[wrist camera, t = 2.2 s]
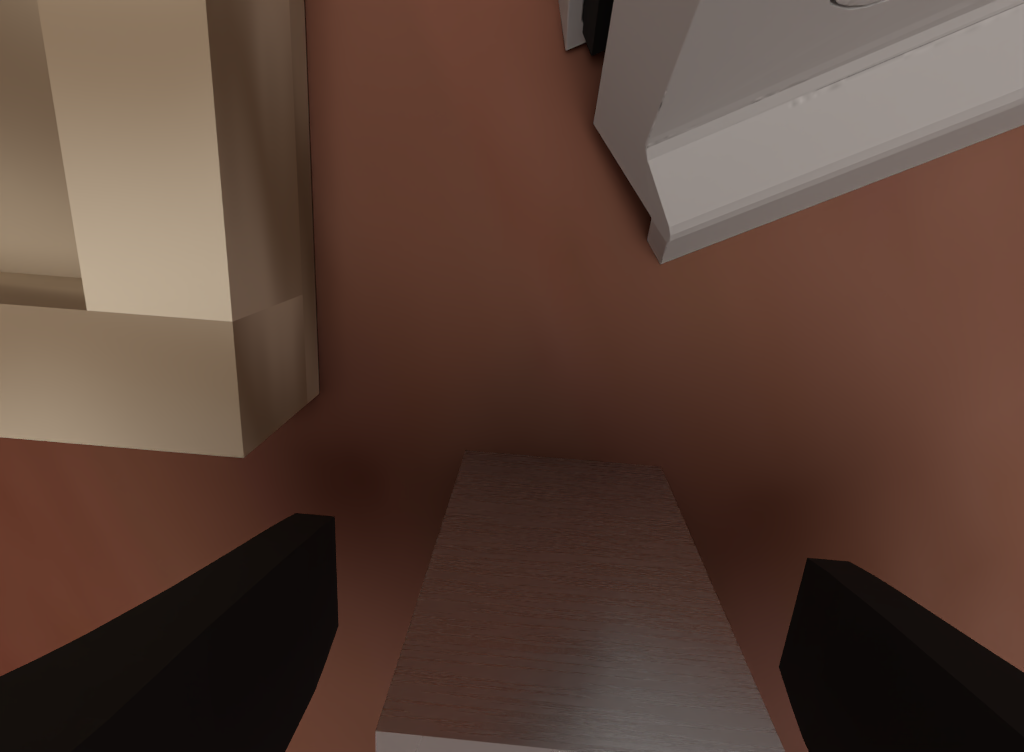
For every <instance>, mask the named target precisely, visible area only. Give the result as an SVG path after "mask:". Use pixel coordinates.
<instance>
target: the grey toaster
mask: <svg viewBox="0 0 1024 752" xmlns="http://www.w3.org/2000/svg"><path fill="white" fill-rule="evenodd" d="M559 8H560V15H561V22H562V30H563V37H564V44H565V50H569V49H571V48H573V47H576V46H578V45H580V44H583V43H585V42H586V43H587V46H588V48H589V51H590V53H591V56H593V55H595V54H597V53H599V52H602V51H604V50H606V51H605V57H604V63H603V69H602V75H601V81H600V87H599V93H598V99H597V105H596V111H595V117H594V123H593V124H594V126H595V127H596V129H597V130H598V132H599V134H600V135H601V137H602V139H603V140H604V142H605V143H606V145H607V147H608V148H609V150H610V151H611V153H612V155H613V156H614V158H615V159H616V161H617V163H618V164H619V166H620V168H621V169H622V171H623V172H624V174H625V176H626V177H627V179H628V180H629V182H630V184H631V185H632V187H633V188H634V190H635V192H636V193H637V195H638V197H639V198H640V200H641V201H642V203H643V205H644V206H645V208H646V209H647V211H648V213H649V214H650V216H651V224H650V228H649V233H648V238H647V241H648V243H649V245H650V247H651V249H652V250H653V252H654V254H655V256H656V258H657V259H658V261H659V263H660V264H663V263H665V262H668V261H671V260H673V259H676V258H678V257H681V256H684V255H686V254H689V253H691V252H694V251H697V250H699V249H702V248H704V247H707V246H710V245H712V244H715V243H717V242H720V241H723V240H725V239H728V238H730V237H733V236H736V235H738V234H741V233H743V232H746V231H749V230H751V229H754V228H756V227H759V226H762V225H764V224H767V223H769V222H772V221H775V220H777V219H780V218H782V217H785V216H788V215H790V214H793V213H795V212H798V211H801V210H803V209H806V208H808V207H811V206H814V205H816V204H819V203H821V202H824V201H827V200H829V199H832V198H834V197H837V196H840V195H842V194H845V193H847V192H850V191H853V190H855V189H858V188H861V187H863V186H866V185H868V184H871V183H874V182H876V181H879V180H881V179H884V178H887V177H889V176H892V175H894V174H897V173H900V172H902V171H905V170H907V169H910V168H913V167H915V166H918V165H920V164H923V163H926V162H928V161H931V160H933V159H936V158H939V157H941V156H944V155H946V154H949V153H952V152H954V151H957V150H959V149H962V148H965V147H967V146H970V145H972V144H975V143H978V142H980V141H983V140H985V139H988V138H991V137H993V136H996V135H998V134H1001V133H1004V132H1006V131H1009V130H1011V129H1014V128H1017V127H1019V126H1022V125H1024V0H559Z"/></svg>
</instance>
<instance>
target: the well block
mask: <svg viewBox="0 0 1024 752" xmlns="http://www.w3.org/2000/svg"><path fill="white" fill-rule="evenodd" d="M318 394H319V370H318V344H317V318H316V292H315V266H314V240H313V214H312V188H311V162H310V136H309V110H308V84H307V58H306V32H305V6H304V0H0V437H5V438H16V439H28V440H40V441H51V442H63V443H75V444H86V445H98V446H110V447H121V448H133V449H145V450H156V451H168V452H179V453H191V454H203V455H214V456H226V457H238V458H244V457H246V456H247V455H248V454H249V453H250V452H251V451H253V450H254V449H255V448H256V447H257V446H258V445H260V444H261V443H262V442H263V441H264V440H266V439H267V438H268V437H269V436H270V435H271V434H273V433H274V432H275V431H276V430H277V429H278V428H280V427H281V426H282V425H283V424H284V423H285V422H287V421H288V420H289V419H290V418H291V417H293V416H294V415H295V414H296V413H297V412H298V411H300V410H301V409H302V408H303V407H304V406H305V405H307V404H308V403H309V402H310V401H311V400H312V399H314V398H315V397H316V396H317V395H318Z"/></svg>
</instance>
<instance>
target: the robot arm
mask: <svg viewBox="0 0 1024 752" xmlns="http://www.w3.org/2000/svg"><path fill="white" fill-rule="evenodd" d="M337 628H338V601H337V572H336V543H335V517H332V516H321V515H310V514H298V513H296V514H294V515H292V516H290V517H288V518H286V519H284V520H282V521H281V522H279V523H277V524H275V525H274V526H272V527H270V528H269V529H267V530H265V531H264V532H262V533H260V534H259V535H257V536H255V537H254V538H252V539H250V540H249V541H247V542H246V543H244V544H242V545H241V546H239V547H237V548H236V549H234V550H232V551H231V552H229V553H228V554H226V555H224V556H223V557H221V558H219V559H218V560H216V561H214V562H213V563H211V564H209V565H208V566H206V567H204V568H203V569H201V570H199V571H198V572H196V573H194V574H193V575H191V576H189V577H188V578H186V579H184V580H183V581H181V582H179V583H178V584H176V585H174V586H172V587H171V588H169V589H167V590H165V591H164V592H162V593H160V594H158V595H156V596H155V597H153V598H151V599H149V600H147V601H146V602H144V603H142V604H140V605H138V606H137V607H135V608H133V609H131V610H129V611H127V612H126V613H124V614H122V615H120V616H118V617H117V618H115V619H113V620H111V621H109V622H108V623H106V624H104V625H102V626H100V627H99V628H97V629H95V630H93V631H91V632H90V633H88V634H86V635H84V636H82V637H80V638H78V639H76V640H74V641H72V642H70V643H68V644H66V645H64V646H62V647H60V648H58V649H56V650H54V651H52V652H50V653H48V654H46V655H44V656H42V657H40V658H38V659H36V660H34V661H32V662H30V663H28V664H26V665H24V666H22V667H19V668H17V669H15V670H13V671H11V672H9V673H7V674H5V675H3V676H0V752H285V751H286V749H287V747H288V745H289V743H290V741H291V739H292V737H293V735H294V733H295V731H296V729H297V726H298V724H299V722H300V720H301V718H302V716H303V714H304V712H305V710H306V708H307V706H308V704H309V702H310V700H311V698H312V696H313V694H314V692H315V689H316V687H317V684H318V681H319V678H320V676H321V673H322V670H323V668H324V665H325V662H326V660H327V657H328V654H329V651H330V648H331V645H332V642H333V640H334V637H335V634H336V631H337ZM779 669H780V672H781V675H782V678H783V681H784V684H785V687H786V690H787V694H788V697H789V700H790V703H791V706H792V709H793V712H794V714H795V717H796V720H797V723H798V726H799V729H800V731H801V734H802V737H803V739H804V742H805V744H806V746H807V748H808V750H809V752H1024V673H1023V672H1022V671H1020V670H1019V669H1017V668H1016V667H1014V666H1013V665H1011V664H1009V663H1008V662H1006V661H1005V660H1003V659H1002V658H1000V657H999V656H997V655H996V654H994V653H992V652H991V651H989V650H988V649H986V648H985V647H983V646H982V645H980V644H979V643H977V642H976V641H974V640H972V639H971V638H969V637H968V636H966V635H965V634H963V633H962V632H960V631H959V630H957V629H956V628H954V627H953V626H951V625H950V624H948V623H947V622H945V621H944V620H942V619H941V618H939V617H937V616H936V615H934V614H933V613H931V612H930V611H928V610H927V609H925V608H924V607H922V606H921V605H919V604H918V603H916V602H915V601H913V600H912V599H910V598H908V597H907V596H905V595H904V594H902V593H901V592H899V591H898V590H896V589H894V588H893V587H891V586H890V585H888V584H887V583H885V582H883V581H882V580H880V579H878V578H877V577H875V576H874V575H872V574H870V573H868V572H867V571H865V570H863V569H862V568H860V567H858V566H856V565H854V564H852V563H850V562H848V561H836V560H825V559H813V558H807V561H806V565H805V569H804V573H803V577H802V581H801V584H800V588H799V592H798V596H797V600H796V604H795V607H794V611H793V615H792V619H791V623H790V626H789V630H788V634H787V638H786V642H785V646H784V649H783V653H782V657H781V661H780V665H779Z"/></svg>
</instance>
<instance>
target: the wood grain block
mask: <svg viewBox="0 0 1024 752" xmlns="http://www.w3.org/2000/svg"><path fill="white" fill-rule="evenodd" d="M376 752H785V751H784V748H783V746H782V744H781V742H780V739H779V737H778V735H777V732H776V730H775V728H774V725H773V723H772V721H771V719H770V716H769V714H768V712H767V709H766V707H765V705H764V703H763V700H762V698H761V696H760V693H759V691H758V689H757V686H756V684H755V682H754V680H753V677H752V675H751V673H750V670H749V668H748V666H747V663H746V661H745V659H744V657H743V654H742V652H741V650H740V647H739V645H738V643H737V640H736V638H735V636H734V634H733V631H732V629H731V627H730V624H729V622H728V620H727V617H726V615H725V613H724V611H723V608H722V606H721V604H720V601H719V599H718V597H717V594H716V592H715V590H714V588H713V585H712V583H711V581H710V578H709V576H708V574H707V571H706V569H705V567H704V565H703V562H702V560H701V558H700V555H699V553H698V551H697V549H696V546H695V544H694V542H693V539H692V537H691V535H690V532H689V530H688V528H687V526H686V523H685V521H684V519H683V516H682V514H681V512H680V509H679V507H678V505H677V503H676V500H675V498H674V496H673V493H672V491H671V489H670V486H669V484H668V482H667V480H666V477H665V475H664V473H663V470H662V468H661V467H658V466H646V465H634V464H622V463H610V462H599V461H587V460H575V459H563V458H551V457H539V456H527V455H515V454H504V453H492V452H480V451H468V450H465V454H464V457H463V460H462V463H461V466H460V469H459V472H458V475H457V479H456V482H455V485H454V488H453V491H452V494H451V497H450V500H449V503H448V507H447V510H446V513H445V516H444V519H443V522H442V525H441V528H440V532H439V535H438V538H437V541H436V544H435V547H434V550H433V553H432V556H431V560H430V563H429V566H428V569H427V572H426V575H425V578H424V581H423V585H422V588H421V591H420V594H419V597H418V600H417V603H416V606H415V610H414V613H413V616H412V619H411V622H410V625H409V628H408V631H407V634H406V638H405V641H404V644H403V647H402V650H401V653H400V656H399V659H398V663H397V666H396V669H395V672H394V675H393V678H392V681H391V684H390V687H389V691H388V694H387V697H386V700H385V703H384V706H383V709H382V712H381V716H380V719H379V722H378V725H377V728H376Z"/></svg>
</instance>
